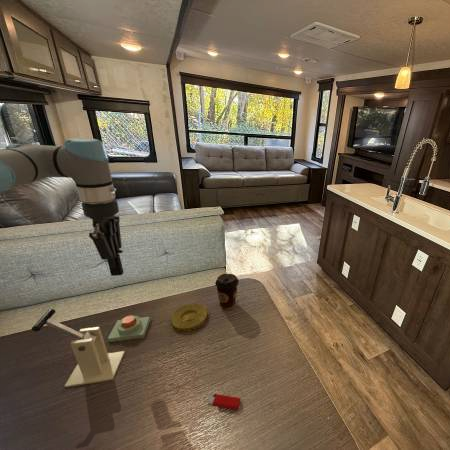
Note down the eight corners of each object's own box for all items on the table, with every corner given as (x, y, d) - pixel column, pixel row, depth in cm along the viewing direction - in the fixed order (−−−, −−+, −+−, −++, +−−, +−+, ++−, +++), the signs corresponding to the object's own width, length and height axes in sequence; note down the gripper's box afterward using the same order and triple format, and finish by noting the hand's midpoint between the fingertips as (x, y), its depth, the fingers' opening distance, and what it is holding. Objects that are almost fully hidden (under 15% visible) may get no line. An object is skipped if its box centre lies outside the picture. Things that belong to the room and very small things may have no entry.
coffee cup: (225, 315, 95) (224, 287, 90) (212, 305, 99) (210, 278, 94) (242, 303, 101) (242, 277, 96) (229, 294, 106) (229, 269, 100)
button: (120, 328, 81) (119, 324, 80) (125, 320, 84) (123, 315, 83) (133, 327, 81) (132, 322, 81) (137, 319, 85) (136, 314, 84)
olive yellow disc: (171, 312, 93) (171, 308, 92) (205, 305, 98) (204, 301, 97) (171, 337, 83) (170, 332, 83) (208, 327, 88) (208, 323, 88)
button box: (108, 343, 79) (106, 334, 78) (118, 324, 86) (116, 316, 85) (144, 339, 82) (142, 330, 80) (150, 321, 89) (149, 312, 87)
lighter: (236, 408, 64) (207, 403, 64) (237, 411, 64) (207, 406, 65) (240, 397, 67) (211, 392, 67) (240, 400, 67) (212, 395, 68)
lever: (28, 330, 58) (35, 324, 58) (45, 312, 64) (52, 306, 63) (83, 354, 64) (89, 348, 64) (94, 335, 70) (100, 330, 70)
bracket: (65, 389, 66) (49, 352, 60) (83, 359, 74) (70, 324, 68) (113, 381, 69) (101, 345, 63) (125, 353, 77) (116, 319, 71)
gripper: (104, 208, 61) (123, 286, 70) (124, 193, 72) (138, 261, 81) (67, 208, 59) (92, 288, 68) (94, 192, 70) (112, 263, 79)
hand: (117, 274), depth 75 cm, fingers closed
